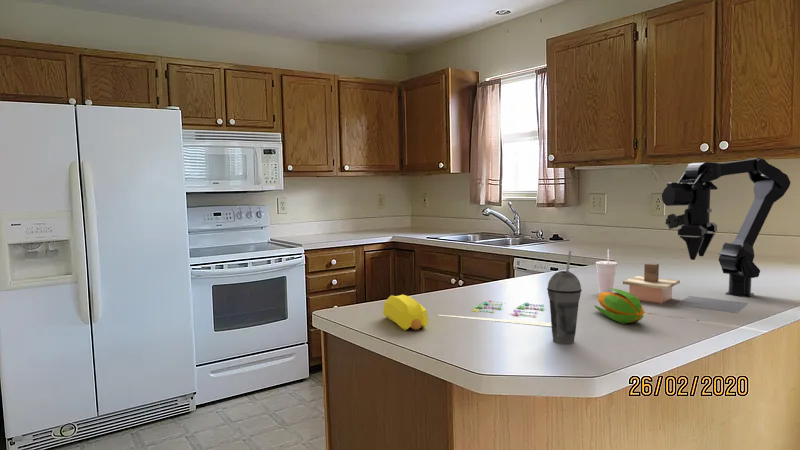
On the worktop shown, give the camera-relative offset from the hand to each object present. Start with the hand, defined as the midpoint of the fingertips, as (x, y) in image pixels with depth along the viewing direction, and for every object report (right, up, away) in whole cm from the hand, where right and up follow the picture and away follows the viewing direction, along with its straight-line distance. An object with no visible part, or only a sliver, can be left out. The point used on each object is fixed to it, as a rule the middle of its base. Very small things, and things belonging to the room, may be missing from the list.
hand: (697, 258), depth 159 cm
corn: (-32, -14, -21) cm, 41 cm away
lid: (-15, -7, -2) cm, 16 cm away
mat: (-1, -13, -9) cm, 16 cm away
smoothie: (-24, -12, +9) cm, 28 cm away
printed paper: (-58, -14, -9) cm, 61 cm away
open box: (-15, -12, -2) cm, 19 cm away
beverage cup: (-52, -16, -41) cm, 68 cm away
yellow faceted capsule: (-87, -15, -24) cm, 91 cm away
